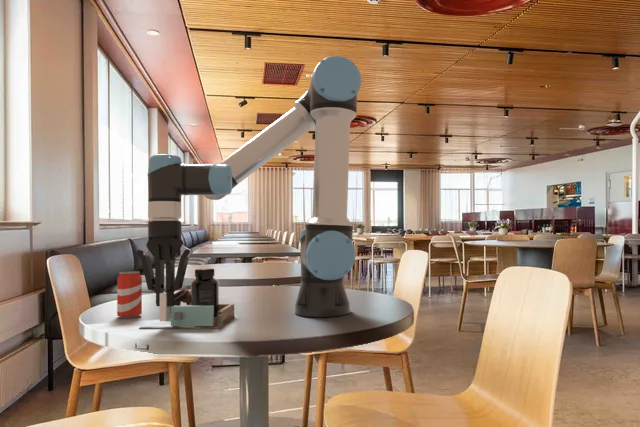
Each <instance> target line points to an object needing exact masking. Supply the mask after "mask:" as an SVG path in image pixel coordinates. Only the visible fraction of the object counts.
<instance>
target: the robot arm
mask: <svg viewBox="0 0 640 427" xmlns="http://www.w3.org/2000/svg"><path fill="white" fill-rule="evenodd" d="M361 86H362V75H361V71H360V70H359V68H358V66H357V65H356V64H355V63H354V62H353V61H352V60H351V59H349V58H347V57H345V56H342V55H341V56H340V55H332V56H331V55H330V56H327V57H325V58H323V59H322V60H320V61H319V62H318V64H316V66H315V67H314V69H313V72H312V75H311V80H310V82H309V87H308V89H307V90H306V91H305V92H304V93H303V95H302V96H301V97H300V98H298V99H297V100H296V101H295V102H294V104H293V108H291V109H290V110H289V111H287V112H286V113H285V114H282V116H280V117H279V118H278V119H277V120H275V121H273V123H271V124H269V126H267V127H266V128H265V129H262V131H260V132H259V133H258V134H256V135H255V136H254V137H252V138H251V139H250V140H248V141H247V142H246V143H244V144H243V145H242V146H240V147H239V148H238V149H236V150H235V151H233V153H230V154H229V155H228V156H227V157H225V158H224V159H223V160H221V161H220V162H219V163H216V162H215V163H197V164H196V163H191V164H189V163H183V162H182V158H181V157H180V156H179V155H176V154H166V153H159V154H154V155H151V156H150V157H149V159H148V168H147V170H148V172H147V186H148V187H147V191H148V194H147V195H148V196H147V197H148V199H147V201H148V203H147V211H148V212H147V218H148V219H149V220H150V221H148V222H147V238H148V240H147V242H146V246H144V247H143V248H142V249H138V250H137V251H136V255H137V256H138V257H139V259H140V261H141V265H142V269H143V274H144V279H145V283H146V287H147V290H148V291H153V292H154V293H155V306H156V307H159V322H167V321H169V320H170V321H171V315H170V306H173V305H174V294H175V291H178V290H180V289H181V290H182V288H183V285H184V281H185V275H186V271H187V267H188V263H189V259H190V258H191V255H192V254H193V252H194V250H193V249H192V248H188V247H186V246H185V245H184V241H183V240H182V221H180V220H181V219H182V196H203V197H205V198H206V199H208V200H212V201H213V200H214V201H219V200H221V199H223V198H225V197H226V196H227V195H230V194H231V193H232V191H233V189H234V188H235V187H237V186H238V185H239V184H241V183H242V182H243V181H244V180H245V179H247V178H248V177H250V176H251V175H252V174H253V173H255V172H256V171H258V170H259V169H260V168H262V167H263V166H264V165H265V164H267V163H268V162H270V161H271V160H273V158H275V157H276V156H277V155H279V154H280V153H282V152H283V151H284V150H285V149H287V148H288V147H290V146H291V145H292V144H294V143H295V142H296V141H298V140H300V139H301V138H302V137H303V136H304V135H306V134H307V133H309V131H310V132H311V131H313V132H315V134H314V135H315V136H314V158H313V159H314V160H313V189H312V190H313V191H312V212H311V213H312V216H311V217H310V218H309V220H308V221H307V222H306V223H305V227H304V228H303V229H302V230H301V231H300V235H299V236H300V237H299V243H300V286H299V290H298V294H297V297H296V300H295V304H294V313H295V314H296V315H297V316H301V317H308V318H309V317H310V318H331V317H332V318H333V317H340V316H345V315H348V314H350V313H351V304H350V301H349V298H348V297H349V296H348V295H347V292H346V289H345V286H344V277H345V276H346V275H347V274H348V273H349V272H350V271H351V270H352V269H353V266H354V264H355V261H356V249H355V246H354V243H353V232H354V230H353V227H354V225H353V223H352V222H351V221H350V220H349V219H348V196H349V195H348V194H349V172H350V171H349V166H350V165H349V164H350V136H351V135H350V134H351V122H352V121H354V119H355V118H357V115H358V114H357V112H358V111H357V110H358V109H357V108H358V93H359V92H360V90H361ZM179 254H180V257H179V261H178V266H177V271H176V269H175V268H176V267H175V266H176V265H175V264H176V257H177V256H178V255H179ZM150 255H152V256H153V260H154V261H153V262H154V267H153V265H152V264H153V263H152V260H151V257H150ZM153 268H154V269H153ZM175 271H176V272H175Z"/></svg>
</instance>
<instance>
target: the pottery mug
mask: <svg viewBox="0 0 640 427" xmlns="http://www.w3.org/2000/svg"><path fill="white" fill-rule="evenodd" d="M181 303H183V304H184V303H185V304H186V305H189V304H191V290H190V291H189V288H183V289H181V290H179V291H177V292H176V293H175V292H174V305H173V306H182V305H181ZM170 316H171V306H170Z"/></svg>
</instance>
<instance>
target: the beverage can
mask: <svg viewBox="0 0 640 427" xmlns="http://www.w3.org/2000/svg"><path fill="white" fill-rule="evenodd" d="M142 281H143V277H142V275H141V274H140V271H119V275H118V276H117V280H116V284H117V285H116V293H117V294H116V296H117V297H116V301H117V302H116V314H117V317H119V318H120V319H134V318H138V317H139V316H140V315H142V314H143V311H142V310H143V307H142V306H143V305H142V304H143V303H142V302H143V300H142V299H143V298H142V297H143V287H142V285H143V282H142Z"/></svg>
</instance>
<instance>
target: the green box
mask: <svg viewBox="0 0 640 427" xmlns="http://www.w3.org/2000/svg"><path fill="white" fill-rule="evenodd" d="M213 325H214V306H186V305H180V306H171V315H170V326H213Z"/></svg>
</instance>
